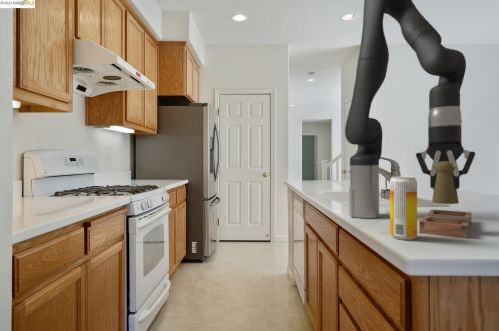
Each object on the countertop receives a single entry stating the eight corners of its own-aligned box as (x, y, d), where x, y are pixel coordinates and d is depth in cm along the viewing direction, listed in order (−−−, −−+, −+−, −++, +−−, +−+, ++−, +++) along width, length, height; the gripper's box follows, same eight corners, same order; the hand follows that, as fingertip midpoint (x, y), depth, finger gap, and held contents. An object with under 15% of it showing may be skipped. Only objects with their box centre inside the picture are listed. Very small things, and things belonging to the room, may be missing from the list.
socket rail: (467, 238, 79) (467, 226, 79) (419, 232, 85) (419, 221, 85) (471, 222, 98) (471, 212, 98) (431, 218, 104) (431, 209, 104)
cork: (462, 204, 82) (462, 160, 82) (436, 203, 84) (436, 161, 83) (453, 201, 88) (452, 160, 88) (428, 200, 90) (428, 160, 89)
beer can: (418, 236, 81) (418, 176, 81) (415, 242, 76) (415, 178, 76) (392, 233, 85) (392, 176, 84) (387, 238, 80) (387, 177, 79)
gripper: (412, 126, 87) (412, 190, 87) (476, 122, 78) (477, 193, 79) (416, 128, 93) (417, 188, 93) (477, 124, 84) (478, 190, 85)
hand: (444, 190), depth 86 cm, fingers closed on cork, 4 cm apart
